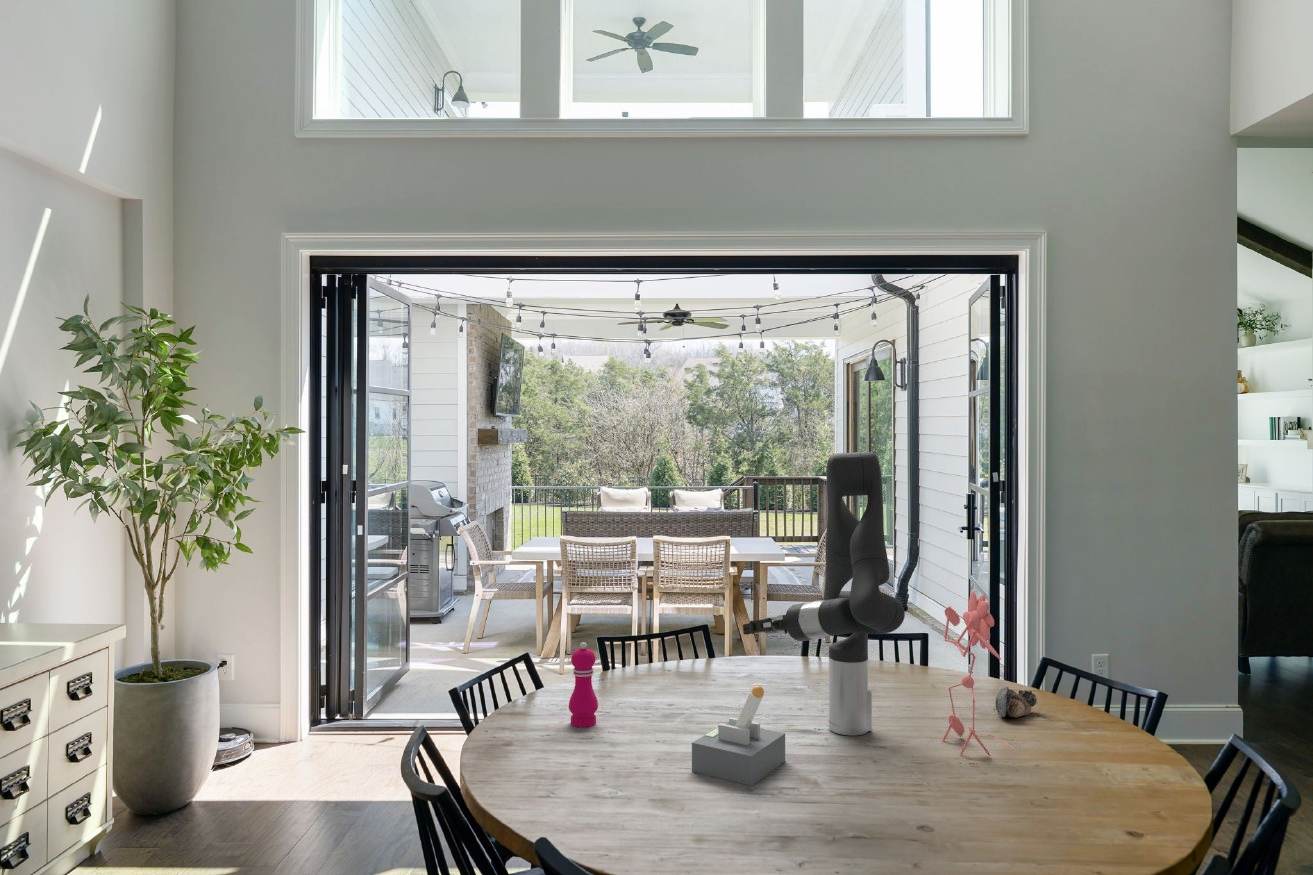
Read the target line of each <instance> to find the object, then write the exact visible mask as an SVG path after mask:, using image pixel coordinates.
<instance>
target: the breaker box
mask: <svg viewBox="0 0 1313 875" xmlns="http://www.w3.org/2000/svg"><path fill="white" fill-rule="evenodd" d="M737 721H738V718H736V717H730V718H729V719H728V722H726V723H719V724H718V726H717V727H716V728H715V729H713V730H711V731H709V732H707V733H706V734H704V735H702V736H701V737H699V738H697V739H695V740H693V741H692V742H691V772H694V773H697V774H701V775H704V776H705V775H706V776H710V777H714V778H718V779H722V780H725V781H730V782H734V783H739V784H743V785H745V786H751V787H752V786H754V784H756V783H757V782H759V781H760V780H761V779H763V778H765V776H767V775H769V774H770V773H771V772H772V771H774V770H775V769H777V768H778V767H779V766H781V765H782V764H783V763H785V762H786V733H785V732H780V731H776V730H775V731H774V730H770V729H764V728H761V723H760V722H757V721H752V723H751V725H750V727H749V729H745V728H740V727H736V726H735V725H736V723H737Z"/></svg>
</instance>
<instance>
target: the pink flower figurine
mask: <svg viewBox="0 0 1313 875" xmlns="http://www.w3.org/2000/svg"><path fill="white" fill-rule="evenodd" d="M967 609H968V611H964V612H963V613H962V620H963V622H964V624H965V625H966V626H965V628H964V630H963V631H962V632H961V634H960V635H959V637H958V638H957V639H956V640H953V639H948V631H949V625H950V624H952V625H953V627H957V626H958V625H959V624H960V622H961V618H960V616H959V615H958V613H957V612H956V610H954V609H953V608H952V607H951V606H950V605H949V606H947V607H945V609H944V614H945V617H946V622H945V623H946V624H945V633H944V641H945V642H949V643H952V644H954V646H957V648H958V650H959V652H960V653H961V655H962V657H963V658H965V657H966V655H967V653H968V654H969V655H971V656H972V659H971V665H970V671H969V675H965V676H963V677H962V679H961V683H958V684H955V685H952V686H949V687H948V692H949V697H950V703H951V708H952V709H951V710H952V714H950V715H949V716H948V724H949V725H948V727H947V730H946V731H945V734H944V736H943V737H942V739H941V741H943V742H945V741H946V740H947V737H948V735H949V733H950V731H951V729H952V730H953V731H954V732H955V734H957V735H958V736H959V737H960V738H961V737H963V735H964V734H965V726H964V724H963V723H962V721H961V719H960V718H958V716H956V713H955V708H954V702H953V695H952V689H954V688H957V687H959V686H963V687H964V688H965V689H966V688H967V689H971V694H972V696H971V697H972V728H971V726H969V727H968V730H969V731H970V733H969V734H968V736H967V739H966V740H965V742H964V745H963V747H962V748H961V751H960V753H959V755H960V756H963V754H964V752H965V750H966V748H967V746H968V744H969V743H970V740H971V738H972V736H973V737H974V739H975V740H976V742H977V743H978V744H979V745H980V746H981V747H982V749H983V750H984V752H985V753H986V754H987V755H988V757H991V754H990V753H989V751H988V750H987V748H986V746H985V745H984V743H983V741H981V740H980V738H979V736H977V734H979V735H983V736H986V737H990V738H993V739H994V740H995V739H996V740H999V741H1000V742H1003V743H1005V744H1006V745H1008V746H1010V747H1011V748H1012V750H1015V749H1014V747H1013V746H1012V744H1011V743H1010V742H1006V741H1004V740H1001V739H999V738H997V737H995V736H993V735H989V734H986V733H985V734H984V733H980V732H976V730H975V714H976V713H975V712H976V710H975V708H976V707H975V706H976V701H975V695H974V694H975V693H974V692H975V691H974V686H975V679H974V678H973V676H972V673H973V668H974V665H975V660H976V655H975V654H974V653H973V652H972V651H970V650H969V649H970V647H975V646H976V645H977V644H978V642H979V645H980V647H981V648H982V649H984V650H985V649H987V650H988V651H989V652H990V653H991V654H992V656H994V657H996V658H997V659H998V660H1002V658H1001V657H1000V655H999V654H998V652H997V650H995V648H994V647H993V646H992V645H991V644H990V643H989V640H990V639H991V633H990V632H991V631H990V628H992V627H994V626H995V619H994V617H993V615H992V614H991V613H989V610H990V603H989V602H988V601H986V595H985V594H981V595H979V597H977V596H976V592H975V591H971V592H970V596H969V600H968V603H967ZM966 633H967V634H968V635H969V641H968V643H967V645H966V647H964V646H963V645H961V644H960V642H961V640H962V638H963V637H964V636H965V634H966ZM963 650H964V651H963ZM968 764H970V765H977V763H974V762H968Z"/></svg>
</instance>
